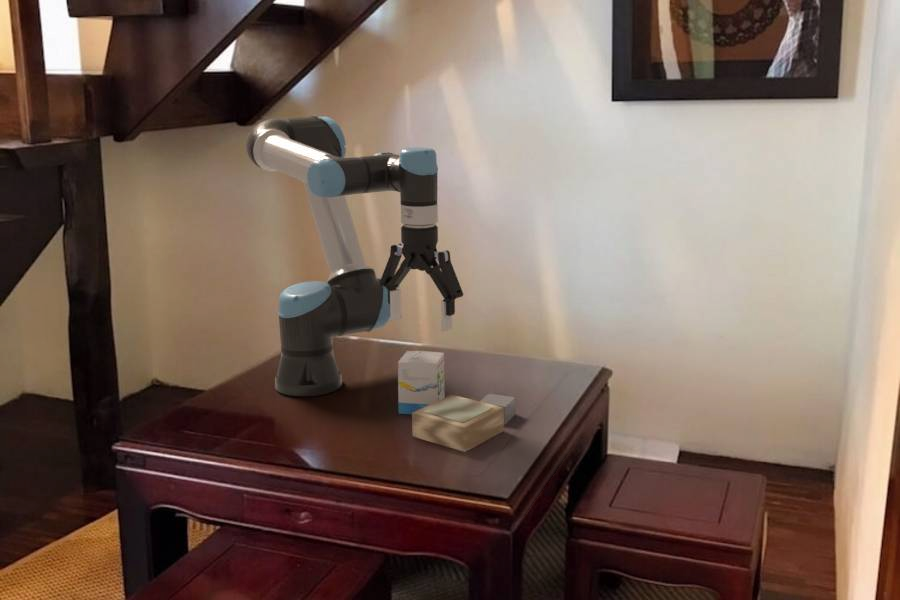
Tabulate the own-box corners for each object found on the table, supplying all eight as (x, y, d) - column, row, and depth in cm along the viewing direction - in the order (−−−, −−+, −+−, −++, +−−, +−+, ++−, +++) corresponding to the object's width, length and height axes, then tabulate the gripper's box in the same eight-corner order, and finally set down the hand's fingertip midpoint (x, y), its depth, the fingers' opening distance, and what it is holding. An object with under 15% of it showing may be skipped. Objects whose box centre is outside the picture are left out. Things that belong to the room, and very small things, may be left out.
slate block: (478, 421, 206) (478, 402, 205) (488, 411, 211) (488, 393, 210) (505, 425, 204) (505, 406, 203) (515, 415, 209) (515, 397, 208)
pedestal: (412, 436, 198) (411, 411, 196) (452, 417, 208) (451, 393, 206) (465, 451, 190) (464, 426, 189) (503, 431, 200) (503, 406, 199)
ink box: (437, 416, 208) (436, 363, 205) (397, 414, 210) (396, 361, 207) (445, 402, 216) (445, 351, 213) (407, 400, 218) (406, 349, 215)
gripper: (361, 221, 207) (364, 319, 213) (457, 234, 193) (458, 339, 198) (384, 216, 213) (387, 311, 219) (479, 228, 199) (480, 330, 204)
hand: (421, 325), depth 208 cm, fingers open, 13 cm apart
